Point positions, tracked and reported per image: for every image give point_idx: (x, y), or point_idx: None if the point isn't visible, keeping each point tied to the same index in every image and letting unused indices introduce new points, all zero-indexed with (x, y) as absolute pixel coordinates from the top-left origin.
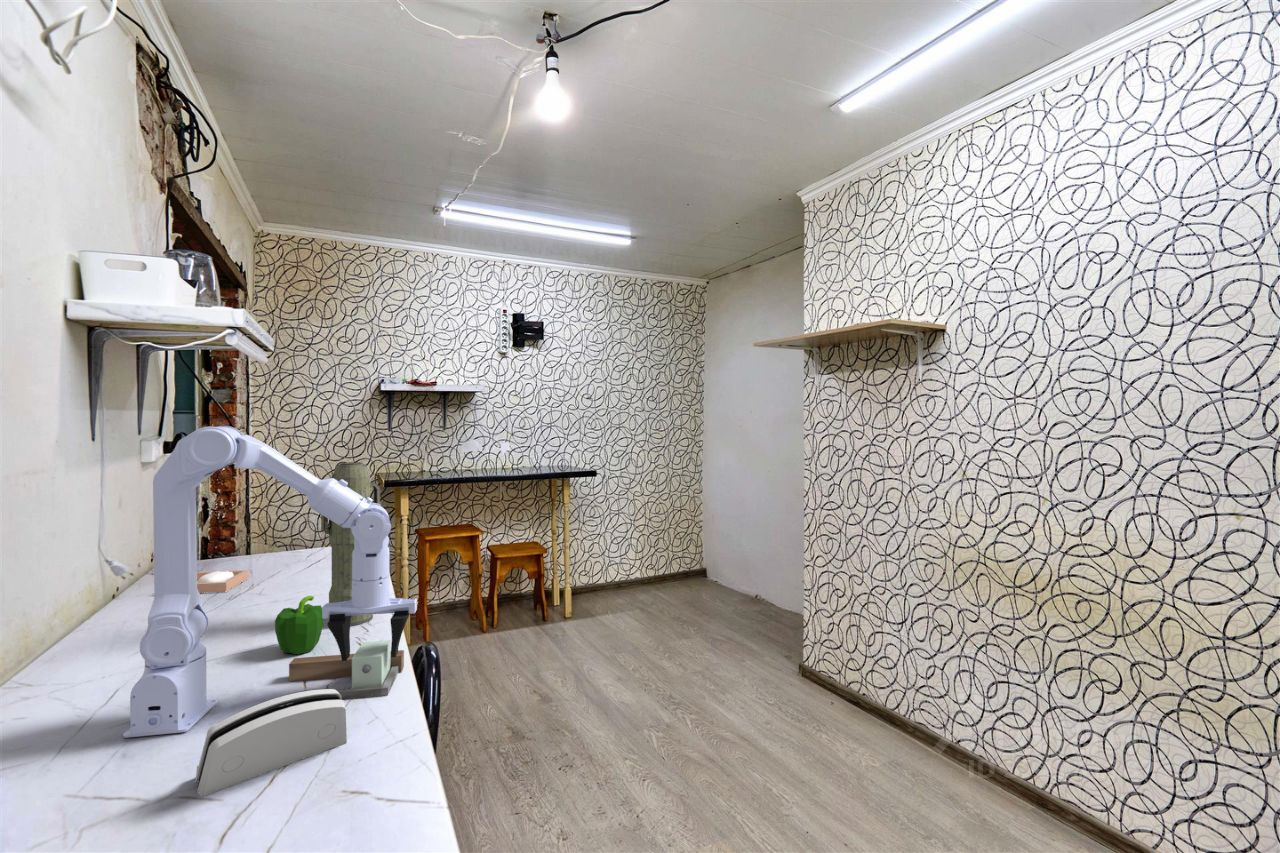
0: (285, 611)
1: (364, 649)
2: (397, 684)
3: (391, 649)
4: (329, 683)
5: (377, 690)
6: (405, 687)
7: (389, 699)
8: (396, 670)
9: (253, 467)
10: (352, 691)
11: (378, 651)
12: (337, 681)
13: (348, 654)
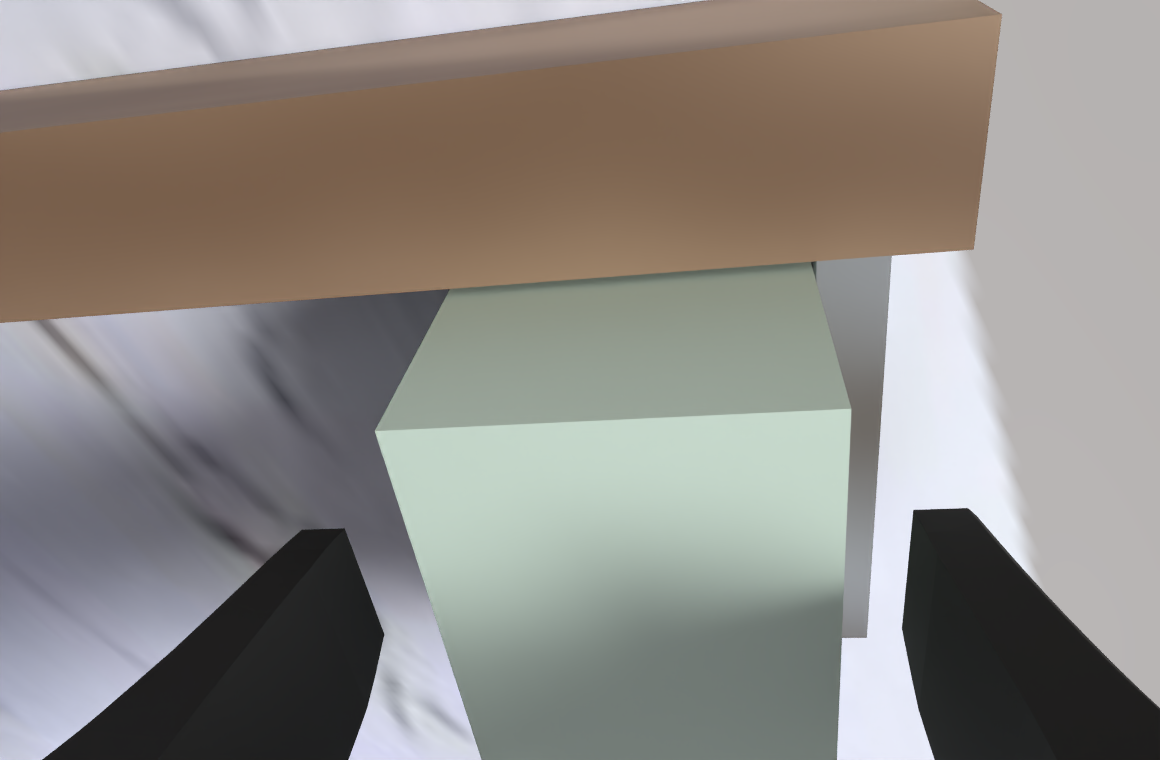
0: None
1: (538, 664)
2: (909, 429)
3: (937, 747)
4: (252, 335)
5: None
6: (992, 490)
7: (880, 638)
8: (885, 296)
9: None
10: None
11: (757, 738)
12: (300, 303)
13: (345, 596)
